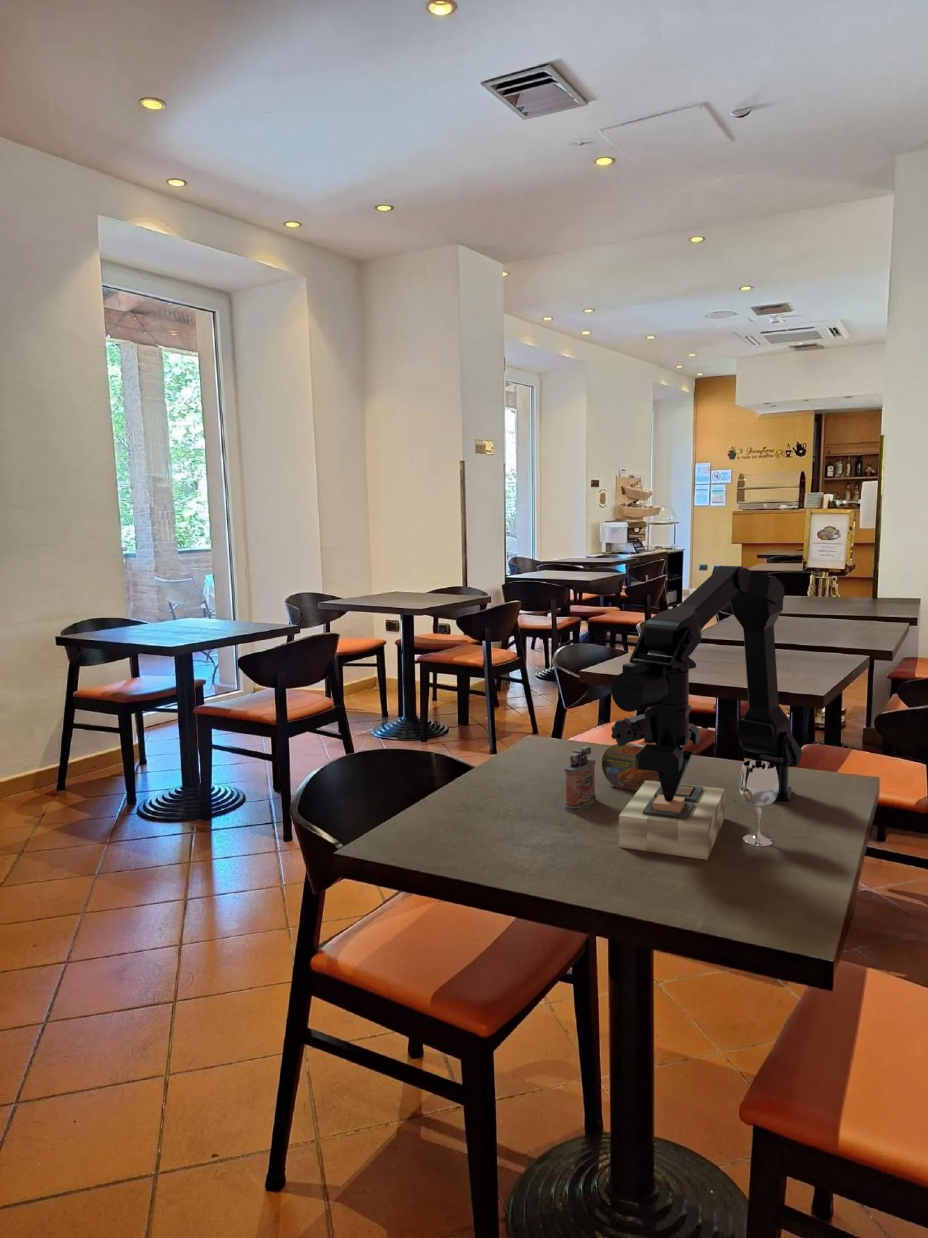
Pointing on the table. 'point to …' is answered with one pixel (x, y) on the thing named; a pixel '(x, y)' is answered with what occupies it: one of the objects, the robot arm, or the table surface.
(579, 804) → the lighter
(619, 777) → the tin
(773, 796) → the wineglass
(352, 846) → the table surface
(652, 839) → the board
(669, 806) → the peg
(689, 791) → the peg
